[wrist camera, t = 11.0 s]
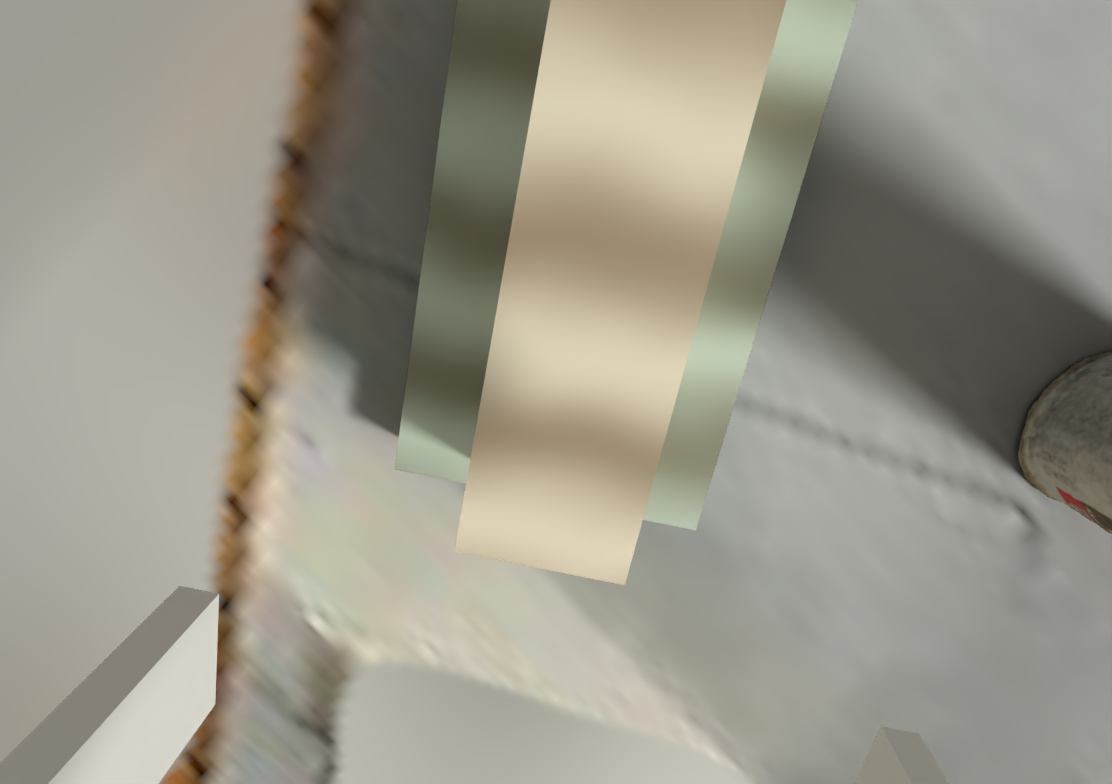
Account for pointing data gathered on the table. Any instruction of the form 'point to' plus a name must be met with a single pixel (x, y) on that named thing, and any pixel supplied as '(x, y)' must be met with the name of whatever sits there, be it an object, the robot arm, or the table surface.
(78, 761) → the robot arm
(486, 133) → the deck
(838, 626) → the table surface
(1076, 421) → the spray can
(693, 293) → the maple beam
